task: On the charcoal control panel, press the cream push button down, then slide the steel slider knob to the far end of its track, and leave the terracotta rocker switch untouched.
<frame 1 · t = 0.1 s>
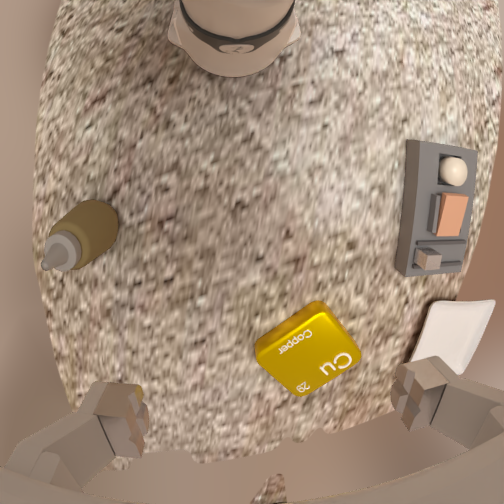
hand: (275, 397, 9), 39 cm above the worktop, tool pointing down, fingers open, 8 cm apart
slider lever: (427, 258, 45), point 6 cm above the worktop, slide at 0.0 cm
rocker switch: (451, 215, 43), point 6 cm above the worktop, hinge at 10.0°
squeeze bottle: (102, 219, 45), on the worktop
salad plate: (444, 335, 60), on the worktop
element tile: (306, 344, 57), on the worktop
push button: (452, 170, 41), point 5 cm above the worktop, slide at 0.0 cm
control panel: (432, 206, 48), on the worktop
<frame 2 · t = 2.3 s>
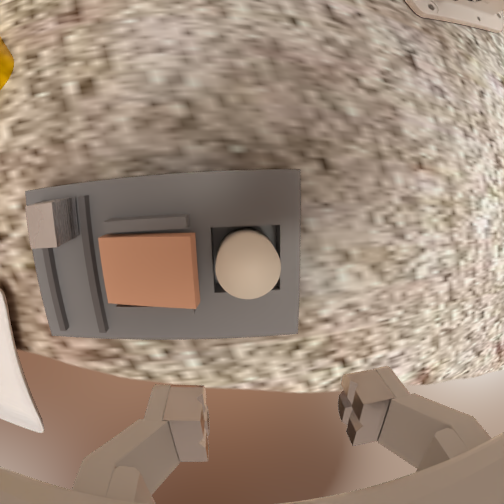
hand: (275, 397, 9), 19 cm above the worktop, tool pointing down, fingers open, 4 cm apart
slider lever: (53, 221, 20), point 6 cm above the worktop, slide at 0.0 cm
rocker switch: (147, 270, 22), point 6 cm above the worktop, hinge at 10.0°
push button: (247, 262, 23), point 5 cm above the worktop, slide at 0.0 cm
control panel: (163, 250, 27), on the worktop
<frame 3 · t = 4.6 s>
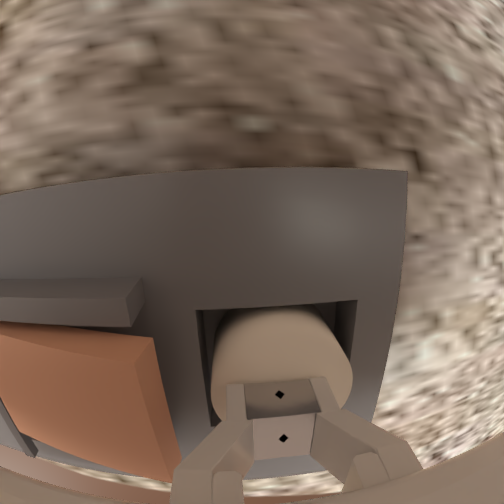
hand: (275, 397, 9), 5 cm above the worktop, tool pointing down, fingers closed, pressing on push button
rocker switch: (65, 399, 8), point 6 cm above the worktop, hinge at 10.0°
push button: (277, 366, 10), point 4 cm above the worktop, slide at 1.1 cm, touching gripper
control panel: (113, 323, 13), on the worktop
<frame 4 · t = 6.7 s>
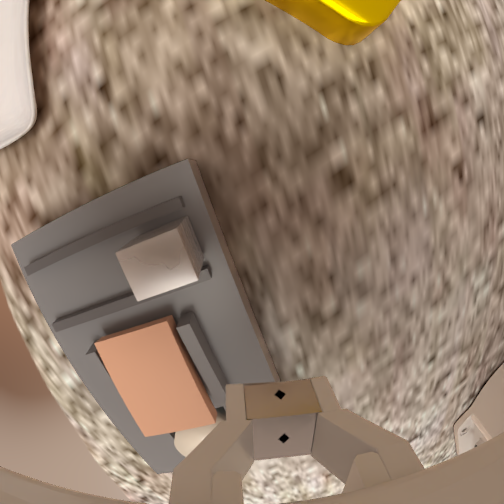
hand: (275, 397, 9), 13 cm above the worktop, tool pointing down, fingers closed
slider lever: (163, 255, 15), point 6 cm above the worktop, slide at 0.0 cm
rocker switch: (156, 381, 17), point 6 cm above the worktop, hinge at 10.0°
push button: (205, 431, 21), point 4 cm above the worktop, slide at 1.1 cm
control panel: (170, 336, 23), on the worktop
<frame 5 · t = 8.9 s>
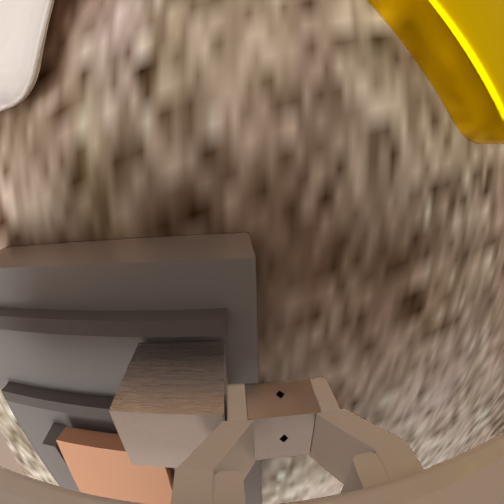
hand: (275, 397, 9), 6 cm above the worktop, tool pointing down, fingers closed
slider lever: (179, 402, 9), point 6 cm above the worktop, slide at 0.2 cm, touching gripper
rocker switch: (128, 492, 11), point 6 cm above the worktop, hinge at 10.0°
element tile: (460, 6, 12), on the worktop
control panel: (146, 420, 16), on the worktop
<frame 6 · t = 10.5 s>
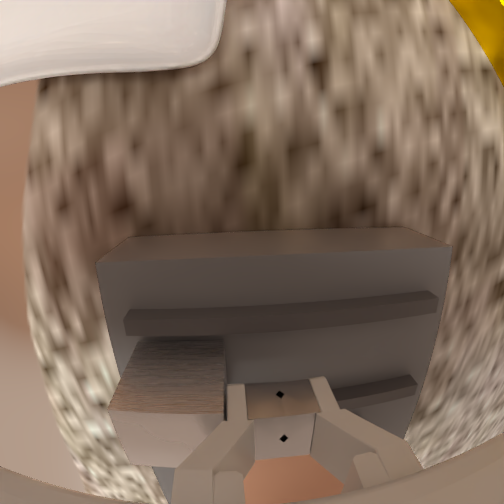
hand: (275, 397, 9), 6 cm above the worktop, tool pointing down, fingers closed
slider lever: (178, 402, 9), point 6 cm above the worktop, slide at 7.8 cm, touching gripper
rocker switch: (288, 493, 11), point 6 cm above the worktop, hinge at 10.0°
control panel: (273, 417, 17), on the worktop
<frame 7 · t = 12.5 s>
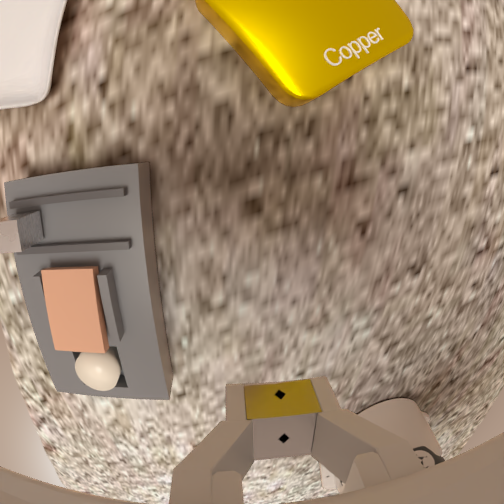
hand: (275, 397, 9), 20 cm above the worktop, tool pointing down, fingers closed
slider lever: (17, 231, 20), point 6 cm above the worktop, slide at 8.0 cm
rocker switch: (74, 310, 23), point 6 cm above the worktop, hinge at 10.0°
salad plate: (5, 28, 19), on the worktop
element tile: (300, 15, 23), on the worktop
push button: (100, 364, 27), point 4 cm above the worktop, slide at 1.1 cm
control panel: (95, 284, 28), on the worktop
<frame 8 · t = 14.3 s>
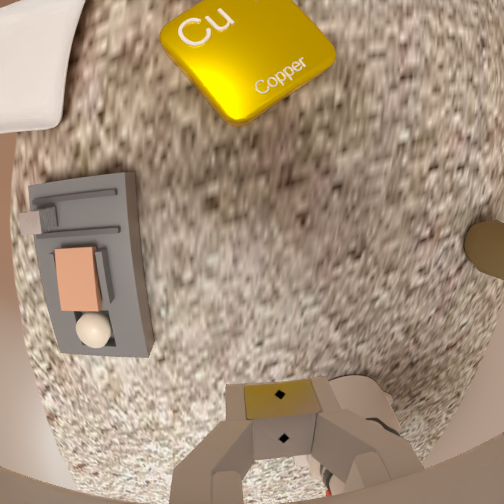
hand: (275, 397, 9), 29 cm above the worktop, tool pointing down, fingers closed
slider lever: (38, 220, 29), point 6 cm above the worktop, slide at 8.0 cm
rocker switch: (77, 279, 31), point 6 cm above the worktop, hinge at 10.0°
squeeze bottle: (475, 240, 40), on the worktop
salad plate: (23, 65, 29), on the worktop
element tile: (246, 52, 32), on the worktop
push button: (95, 326, 35), point 4 cm above the worktop, slide at 1.1 cm
control panel: (95, 264, 37), on the worktop
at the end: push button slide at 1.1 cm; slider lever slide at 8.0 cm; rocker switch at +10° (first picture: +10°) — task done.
